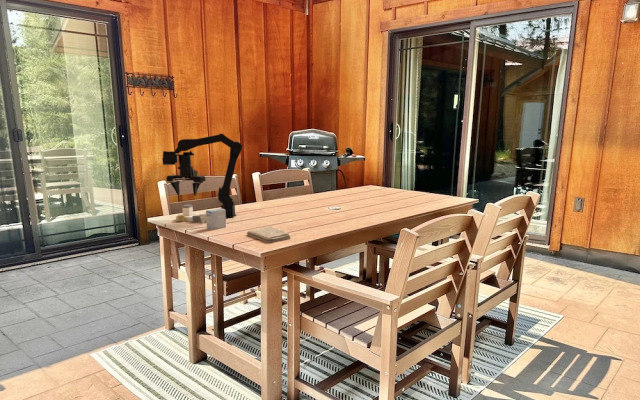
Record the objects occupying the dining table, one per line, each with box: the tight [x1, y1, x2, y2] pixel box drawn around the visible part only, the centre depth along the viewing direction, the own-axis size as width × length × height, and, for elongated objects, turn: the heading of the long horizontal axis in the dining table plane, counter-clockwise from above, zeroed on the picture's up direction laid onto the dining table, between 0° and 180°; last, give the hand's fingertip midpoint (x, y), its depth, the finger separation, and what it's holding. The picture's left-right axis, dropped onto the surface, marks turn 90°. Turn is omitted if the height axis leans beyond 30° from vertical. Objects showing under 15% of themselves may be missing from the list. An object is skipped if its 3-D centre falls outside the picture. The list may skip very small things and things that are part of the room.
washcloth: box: [246, 226, 292, 244], centre depth 178 cm, size 12×18×3 cm, turn 42°
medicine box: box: [205, 207, 227, 231], centre depth 193 cm, size 8×4×9 cm, turn 141°
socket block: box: [175, 212, 206, 223], centre depth 211 cm, size 15×12×3 cm
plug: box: [181, 204, 194, 216], centre depth 213 cm, size 4×4×7 cm
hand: (186, 195), depth 211 cm, fingers open, 9 cm apart
